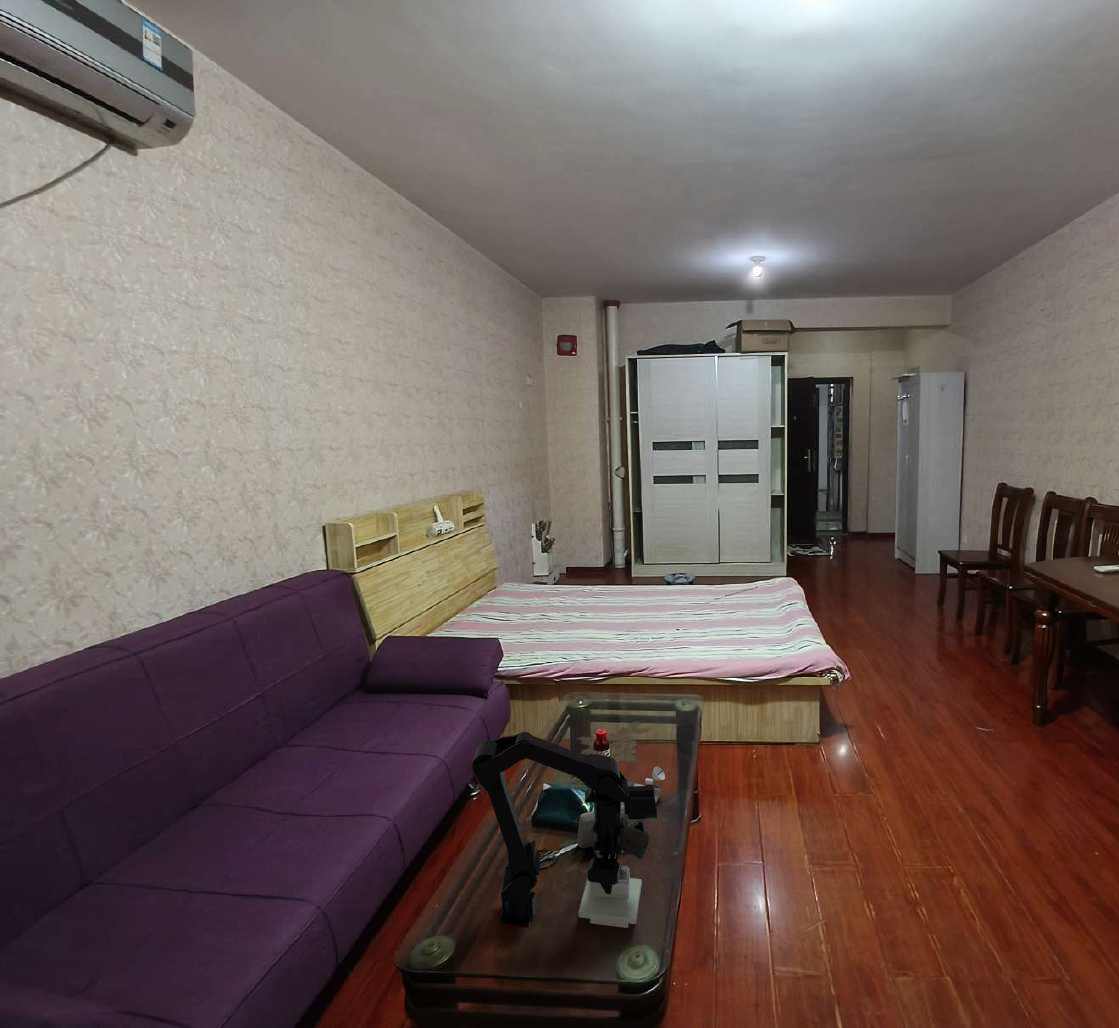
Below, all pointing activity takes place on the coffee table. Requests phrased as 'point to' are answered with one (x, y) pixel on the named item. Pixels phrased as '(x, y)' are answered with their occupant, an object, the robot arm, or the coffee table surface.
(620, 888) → the block
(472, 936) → the coffee table surface
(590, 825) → the digital clock
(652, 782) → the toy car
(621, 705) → the coffee table surface
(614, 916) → the stand
